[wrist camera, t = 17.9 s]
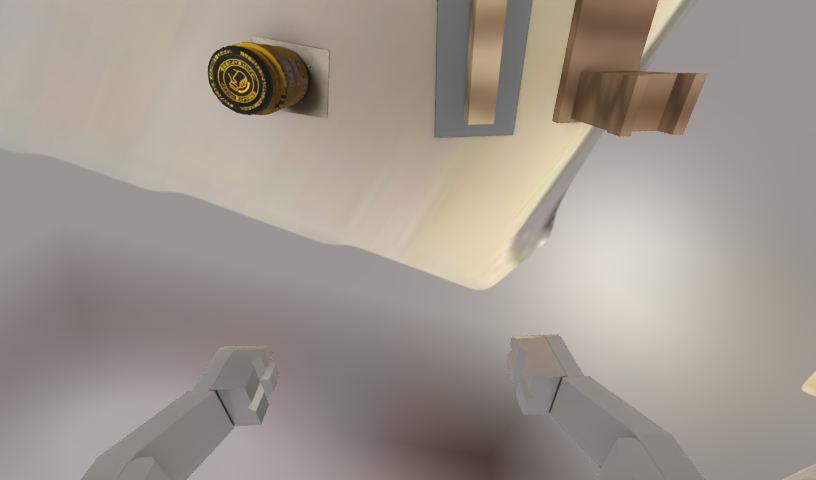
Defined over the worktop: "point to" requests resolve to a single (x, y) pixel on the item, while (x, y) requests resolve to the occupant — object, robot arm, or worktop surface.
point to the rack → (620, 73)
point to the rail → (483, 60)
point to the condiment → (271, 77)
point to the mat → (454, 66)
